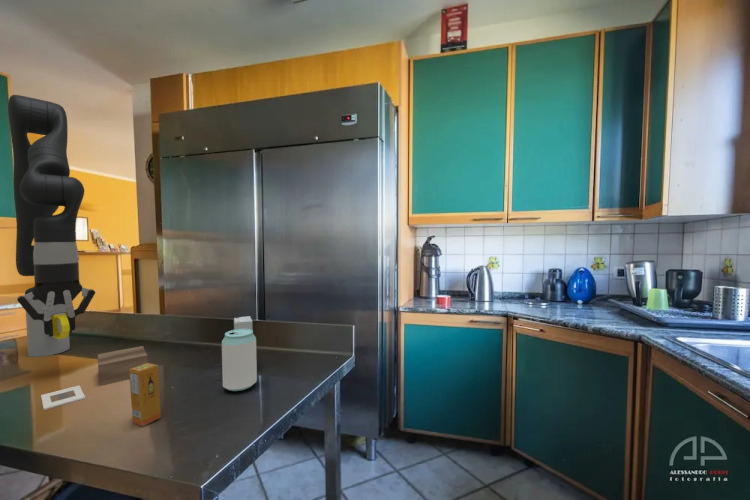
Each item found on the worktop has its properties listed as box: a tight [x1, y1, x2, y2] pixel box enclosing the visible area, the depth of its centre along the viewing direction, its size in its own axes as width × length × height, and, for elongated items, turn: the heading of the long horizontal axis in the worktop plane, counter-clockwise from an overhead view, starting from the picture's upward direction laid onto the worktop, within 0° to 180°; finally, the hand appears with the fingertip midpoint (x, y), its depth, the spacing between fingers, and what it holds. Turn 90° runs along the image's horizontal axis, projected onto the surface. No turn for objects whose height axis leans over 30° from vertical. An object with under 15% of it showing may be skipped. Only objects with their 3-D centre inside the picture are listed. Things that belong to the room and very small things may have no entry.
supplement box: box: [129, 363, 162, 427], centre depth 59 cm, size 3×3×10 cm
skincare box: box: [233, 315, 254, 332], centre depth 84 cm, size 6×4×12 cm
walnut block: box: [97, 345, 149, 387], centre depth 79 cm, size 9×9×5 cm
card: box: [40, 384, 86, 411], centre depth 68 cm, size 8×6×1 cm
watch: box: [51, 312, 70, 340], centre depth 77 cm, size 6×3×6 cm, turn 65°
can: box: [221, 329, 258, 392], centre depth 73 cm, size 7×7×12 cm
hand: (60, 334), depth 78 cm, fingers closed on watch, 2 cm apart
